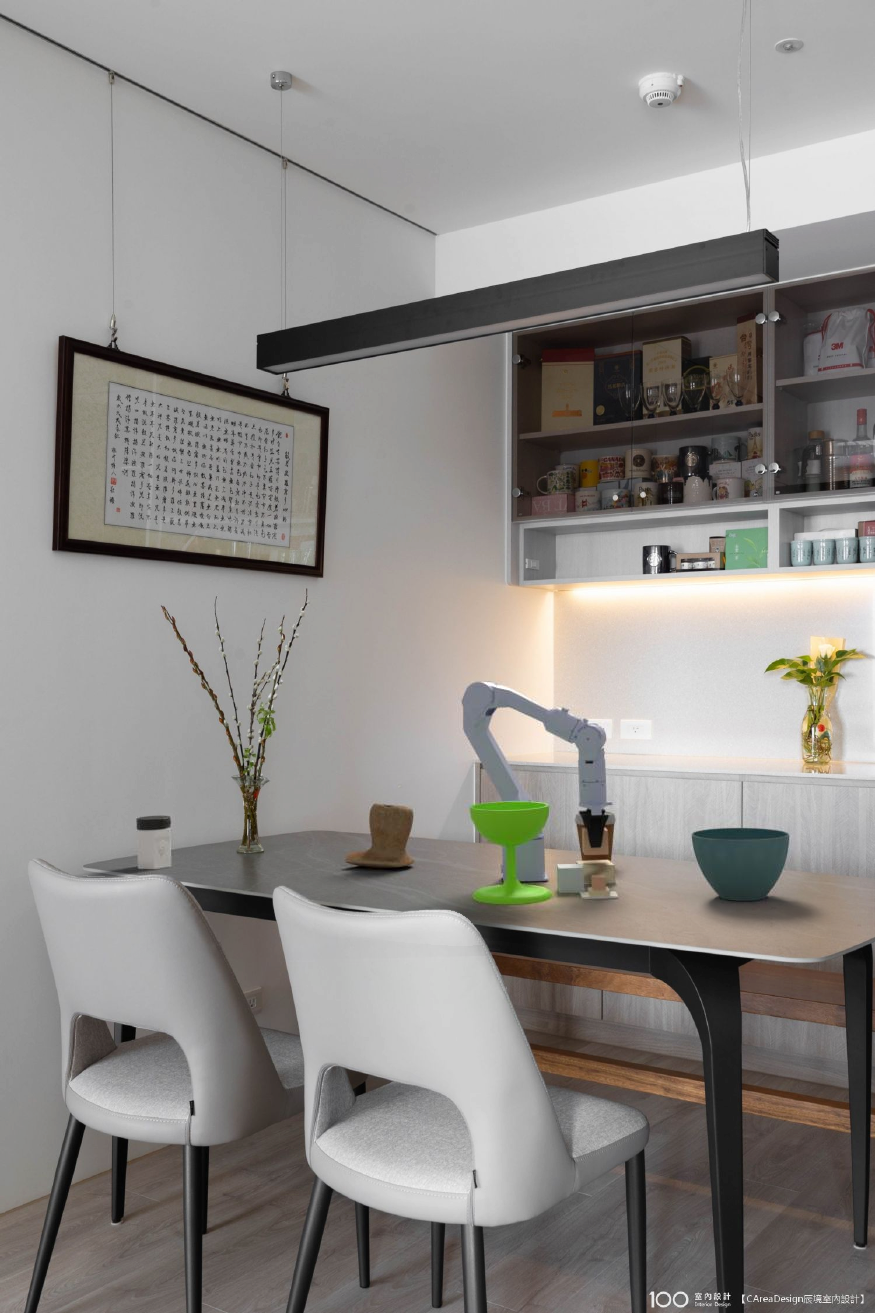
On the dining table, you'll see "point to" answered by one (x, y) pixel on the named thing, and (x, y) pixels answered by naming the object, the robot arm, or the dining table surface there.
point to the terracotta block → (594, 851)
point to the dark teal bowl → (741, 860)
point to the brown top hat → (386, 838)
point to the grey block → (570, 878)
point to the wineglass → (510, 846)
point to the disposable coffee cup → (610, 828)
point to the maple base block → (598, 870)
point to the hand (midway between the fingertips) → (594, 845)
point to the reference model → (598, 889)
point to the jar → (154, 842)
